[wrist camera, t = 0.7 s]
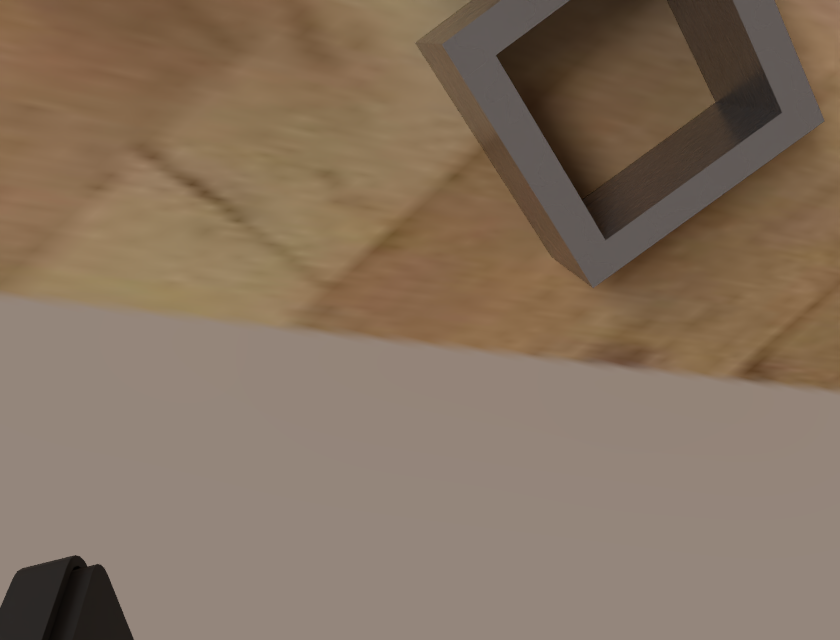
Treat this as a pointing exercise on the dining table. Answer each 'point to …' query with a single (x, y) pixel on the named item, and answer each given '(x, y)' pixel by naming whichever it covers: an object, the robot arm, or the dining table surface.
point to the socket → (660, 167)
